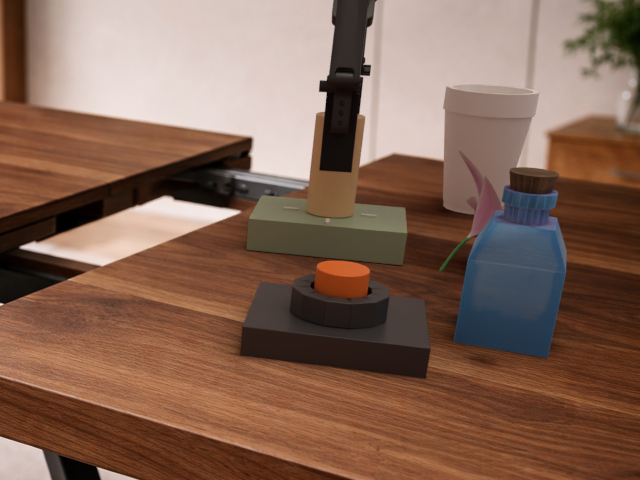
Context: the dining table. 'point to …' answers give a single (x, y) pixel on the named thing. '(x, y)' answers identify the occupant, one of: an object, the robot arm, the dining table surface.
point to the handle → (333, 178)
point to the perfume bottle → (516, 270)
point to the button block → (338, 329)
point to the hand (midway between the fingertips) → (338, 157)
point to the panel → (328, 231)
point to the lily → (478, 205)
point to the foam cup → (483, 137)
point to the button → (342, 279)
